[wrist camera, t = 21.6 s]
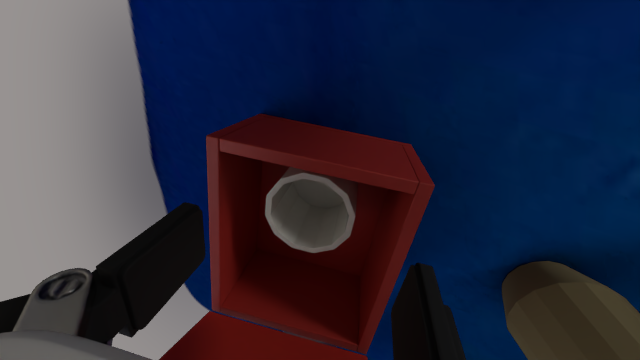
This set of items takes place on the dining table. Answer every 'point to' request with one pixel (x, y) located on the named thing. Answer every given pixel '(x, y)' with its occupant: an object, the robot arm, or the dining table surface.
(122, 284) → the robot arm
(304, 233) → the container
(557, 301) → the squeeze bottle
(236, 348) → the red box lid
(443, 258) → the dining table surface
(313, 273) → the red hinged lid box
